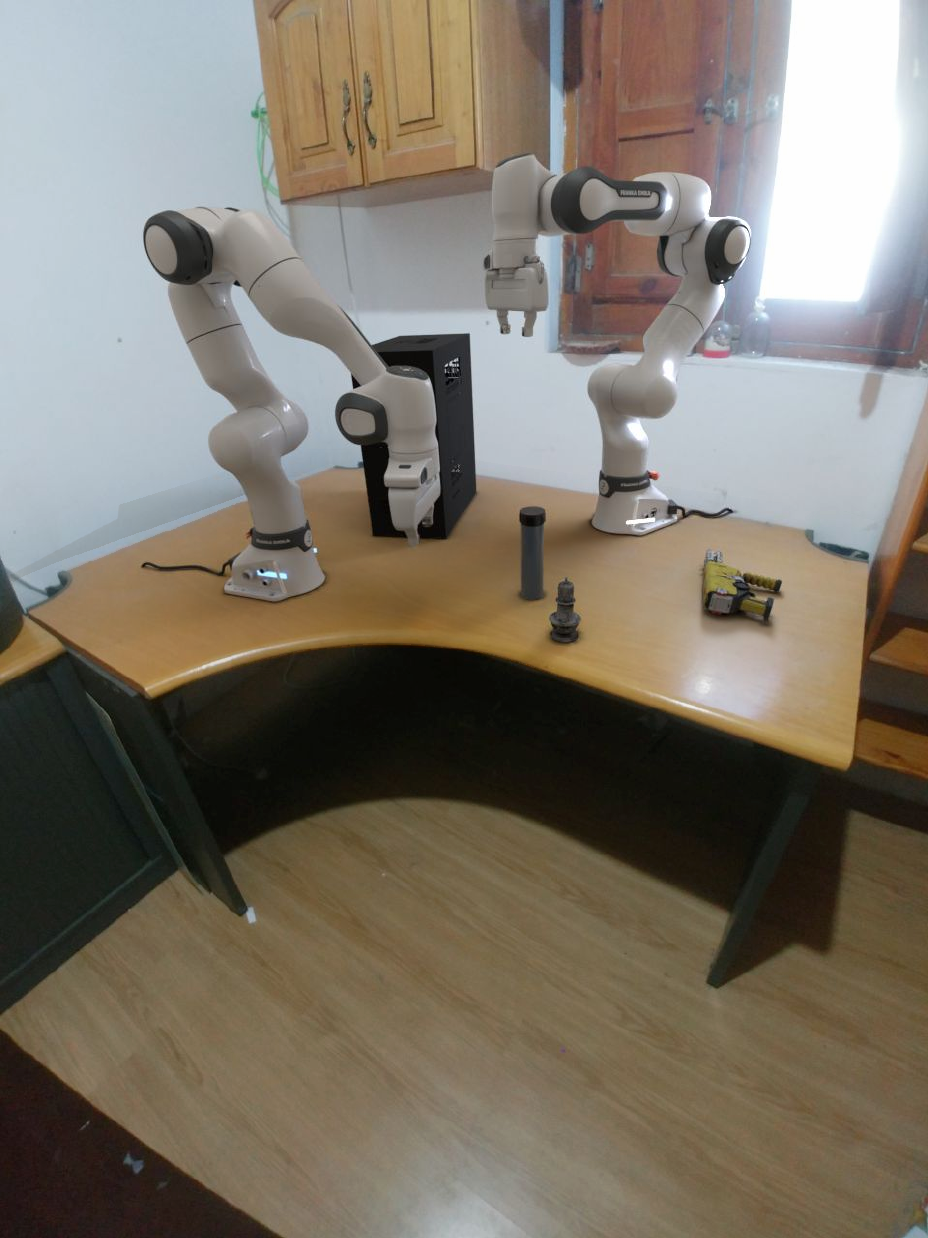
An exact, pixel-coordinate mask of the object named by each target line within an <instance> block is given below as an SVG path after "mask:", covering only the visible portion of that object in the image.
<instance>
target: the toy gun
mask: <svg viewBox="0 0 928 1238" xmlns="http://www.w3.org/2000/svg"><path fill="white" fill-rule="evenodd" d="M782 584H783V581H782V579H777V578H771V577H769V576H766V577H765V576H764V575H758V574H757V573H754V574H752V573H751V572H749V571H746V572H745V573H743V574H742V572H741V571H740V569H739V568H736V567H731V566H729V565H726V564H725V563H724V560H723V552H722V551H721V550H718V549H717V550H716V552H714V549H711V548H709V549H707V550H706V552H705V556H704V559H703V572H702V593H703V594H702V596H703V597H702V601H703V602H702V604H703V608H704V610H708V611H711V613H712V614H717V615H722V613H724V614H734V613H736V612H738V611H744V612H748V613H751V614H755V615H758V616H760V617H763V621H765V622H768V621H769V618H770V615H771V612H772V609H773V606H774V602H775V598H772V597H771V596H768V597H767V599H766V600H764V599H761V598H757V597H756V595H755V593H754V592H752V591H751V586H756V587H758V588H761V587H762V588H763V589H766V590H767V589H769V590H770V591H774V593H775V592H776V593H777V592H780V589H781V587H782Z"/></svg>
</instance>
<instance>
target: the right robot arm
mask: <svg viewBox="0 0 928 1238" xmlns="http://www.w3.org/2000/svg"><path fill="white" fill-rule="evenodd" d="M711 200H712V194H711V189H710V186H709V185H708V183H707V182H706V181H705V180H704V179H703V178H701V177H698V176H695V175H692V174H689V173H682V172H675V171H673V172H672V171H660V172H659V171H658V172H651V173H646V174H641V175H640V176H637V177H635V178H633V179H632V180H624V179H623V180H621V179H613V178H610V177H609V176H607V175H606V174H604V173H603V172H601V171H600V170H599V169H596V168H594V167H592V166H585V165H584V166H579V167H577V168H575V169H573V170H569V171H568V172H566V173H565V172H564V173H562V174H559V175H558V174H556V173H554V172H552V171H551V170H549V169H547V168H546V167H545V166H543V165H542V163H540V161H539V160H538V159H537V157H536V156H535V153H531V152H525V153H520V154H517V155H513V156H509V157H507V158H504V159H501V160H500V161H499V162H497V164H496V165H495V167H494V170H493V174H492V183H491V216H492V220H493V227H494V228H493V235H492V248H491V249H490V250H489V252H488V253H487V254H486V255H485V256H484V257H483V258H482V269H483V271H485V273H484V297H485V304H486V306H487V307H486V308H487V309H488V310H492V311H496V318H497V321H498V323H499V324H498V325H499V333H500V335H510V334H511V324H509V318H508V316H509V312H523V318H524V323H523V326H522V327H521V336H522V337H523V338H531V337H533V335H534V326H535V324H536V320H537V318H538V316H537V315H538V314H537V313H540V312H546V311H547V310H548V308H549V307H548V306H549V303H550V297H549V296H550V295H549V279H548V278H549V277H548V273H547V269H546V268H545V263H544V262H543V260H542V258H541V256H539V236H542V237H546V238H547V237H549V238H550V237H557V236H558V237H560V236H566V235H567V236H568V235H585V234H586V235H587V234H589V233H592V232H594V231H595V230H597V229H598V228H600V227H602V226H603V225H605V224H606V223H608V222H623V224H624V226H625V227H626V230H628V232H629V233H631V234H634V235H639V236H645V237H658V242H657V248H656V259H657V264H658V267H659V269H660V270H661V271H662V272H663V273H664V274H666V275H669V276H672V277H682V279H681V283H680V285H679V287H678V289H677V291H676V292H675V294H674V295H673V296H672V297H671V298H670V300H669V301H668V302H667V303H666V305H665V306H664V307H663V308H662V310H661V311H660V313H659V314H658V315H657V316H656V318H655V319H654V320H653V322H652V323H651V324H650V326H649V327H647V330H646V331H645V332H644V335H643V337H642V345H643V350H644V351H643V353H642V356H641V358H640V359H639V360H638V361H637V363H635V364H625V363H619V362H615V363H614V362H613V363H607V364H604V365H601V366H597V368H595V369H594V371H593V372H591V374H590V376H589V378H588V380H587V395H588V398H589V399H590V401H591V402H592V404H593V406H594V408H595V411H596V414H597V417H598V418H597V419H598V421H599V427H600V432H601V440H602V447H601V448H602V449H601V450H602V451H601V468H600V470H599V474H598V492H599V493H598V498H597V502H596V507H595V511H594V514H593V517H592V520H591V525H592V526H593V527H594V528H595V529H597V530H599V531H601V532H605V533H611V534H623V535H625V534H626V535H632V536H633V535H634V536H645V535H646V534H650V533H652V532H654V531H657V530H660V529H662V528H665V527H668V526H670V525H672V524H675V523H677V522H678V516H677V514H678V510H680V511H681V516H682V517H683V518H687V517H688V516H689V515H690V514H698V515H701V516H704V517H709V518H713V517H714V518H716V517H719V516H721V515H722V514H724V513H725V512H728V513H731V514H733V513H734V510H733V509H732V508H730V507H724V508H722V509H721V510H719V511H717V512H714V513H709V512H705V511H703V510H698V509H690V510H687V512H686V508H685V507H684V506H682V505H678V504H677V503H676V502H675V500H673V499H671V498H670V499H669V498H668V497H667V496H666V495H665V494H664V493H663V492H661V491H660V490H659V489H658V488H656V487H655V486H654V485H652V483H651V480H653V481H658V479H659V478H660V473H659V472H657V471H654V470H651V471H649V470H648V469H647V466H648V458H649V457H648V455H649V446H650V441H649V437H648V435H647V434H646V432H645V431H644V429H643V427H642V424H641V420H656V419H662V418H664V417H666V416H667V415H669V413H670V412H671V411H672V410H673V408H674V406H675V405H676V402H677V399H678V395H679V389H678V388H679V387H678V383H677V377H678V373H679V371H680V368H681V366H682V365H683V363H684V361H685V359H686V358H687V357H688V355H689V354H690V353H691V352H692V350H693V348H694V347H695V346H696V345H697V343H698V342H699V340H701V338H702V337H703V336H704V335H705V333H706V331H707V330H708V328H709V327H710V325H711V324H712V322H713V321H714V319H715V318H716V316H717V315H718V313H719V311H720V309H721V307H722V305H723V303H724V300H725V288H724V285H725V284H727V283H729V282H730V281H732V280H733V279H734V278H735V275H736V274H737V271H738V270H739V269H740V268H741V267H742V265H743V263H744V262H745V260H746V258H747V256H748V254H749V252H750V249H751V243H752V231H751V228H750V225H749V224H748V223H747V222H746V221H745V220H743V219H741V218H738V217H736V216H724V217H710V215H709V210H710V207H711ZM729 508H730V509H729Z"/></svg>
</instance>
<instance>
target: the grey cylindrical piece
mask: <svg viewBox="0 0 928 1238" xmlns="http://www.w3.org/2000/svg"><path fill="white" fill-rule="evenodd" d="M544 562H545V523H544V524H542V525H538V526H526V525H523V524H521V523H520V597H521V598H523V599H525V600H530V601H531V600H533V601H534V600H539V599H542V598H543V596H544V574H545V573H544V571H545V569H544V567H545V566H544V564H545V563H544Z"/></svg>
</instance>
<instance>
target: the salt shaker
mask: <svg viewBox="0 0 928 1238" xmlns="http://www.w3.org/2000/svg"><path fill="white" fill-rule="evenodd" d="M576 601H577V600H576V597H575V584H574V583H573V582H572V581H570V580H569V578H568V576H565V577H564V580H562V581H560V582H559V583H558V584H557V597H555V603H556V611H552V612H551V613H550V615H549V616H548V621H549V623H550V626H551V627H552V629H551V631H550V633H549V636H550V638H551V639H553V640H554V641H556V642H560V643H569V642H574V641H576V640H577V639H578V638H579V636H580V635H579V632H578V631H577V629H578V627H579V624H580V623H581V621H582V617H581V615H580V614H579V613H577V612H575V610H574V609H575V608H574V607H575V603H576Z"/></svg>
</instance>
